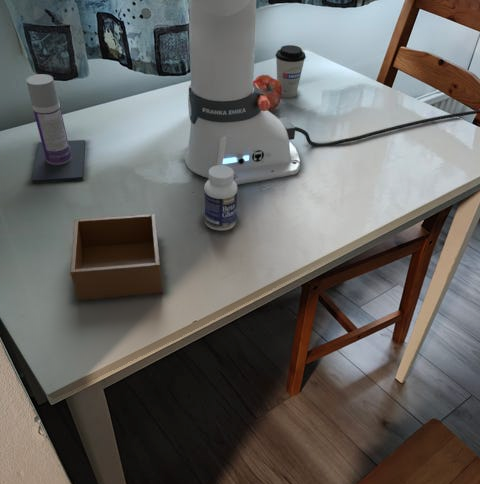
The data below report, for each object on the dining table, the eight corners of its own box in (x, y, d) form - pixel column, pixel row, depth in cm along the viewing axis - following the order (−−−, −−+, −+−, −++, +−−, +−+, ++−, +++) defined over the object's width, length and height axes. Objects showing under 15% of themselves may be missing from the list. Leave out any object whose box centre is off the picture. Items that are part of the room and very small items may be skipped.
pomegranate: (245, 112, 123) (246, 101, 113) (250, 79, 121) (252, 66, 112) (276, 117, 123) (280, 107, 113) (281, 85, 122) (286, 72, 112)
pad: (85, 142, 106) (84, 139, 106) (83, 180, 97) (82, 177, 96) (39, 144, 105) (38, 142, 105) (32, 183, 96) (31, 180, 95)
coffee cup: (268, 88, 127) (272, 44, 120) (296, 86, 128) (301, 42, 121) (277, 100, 122) (281, 55, 115) (305, 98, 124) (310, 53, 116)
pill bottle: (225, 235, 87) (225, 184, 80) (198, 224, 89) (197, 173, 82) (242, 219, 90) (244, 169, 83) (216, 209, 92) (216, 158, 85)
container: (48, 152, 102) (28, 73, 91) (73, 152, 102) (55, 73, 91) (44, 165, 99) (23, 85, 88) (69, 165, 99) (51, 85, 88)
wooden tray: (157, 241, 85) (155, 213, 81) (162, 292, 77) (159, 264, 73) (81, 247, 84) (74, 219, 80) (77, 300, 75) (70, 272, 71)
